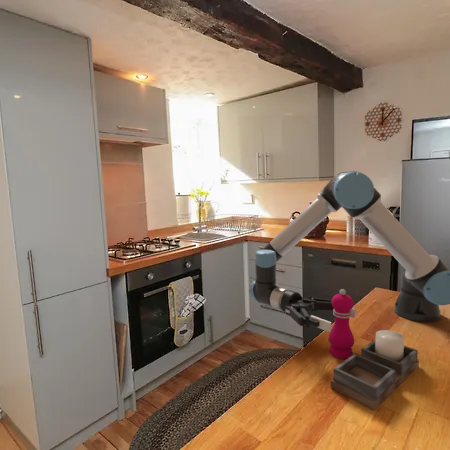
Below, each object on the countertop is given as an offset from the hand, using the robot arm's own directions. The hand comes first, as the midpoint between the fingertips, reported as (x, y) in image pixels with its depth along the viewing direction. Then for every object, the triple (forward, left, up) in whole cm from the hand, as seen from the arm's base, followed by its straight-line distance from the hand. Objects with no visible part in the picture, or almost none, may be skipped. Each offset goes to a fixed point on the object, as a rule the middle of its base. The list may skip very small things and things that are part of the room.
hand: (343, 320), depth 97 cm
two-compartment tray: (0, +12, -11) cm, 16 cm away
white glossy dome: (-7, +10, -9) cm, 15 cm away
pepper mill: (0, -1, -11) cm, 11 cm away
